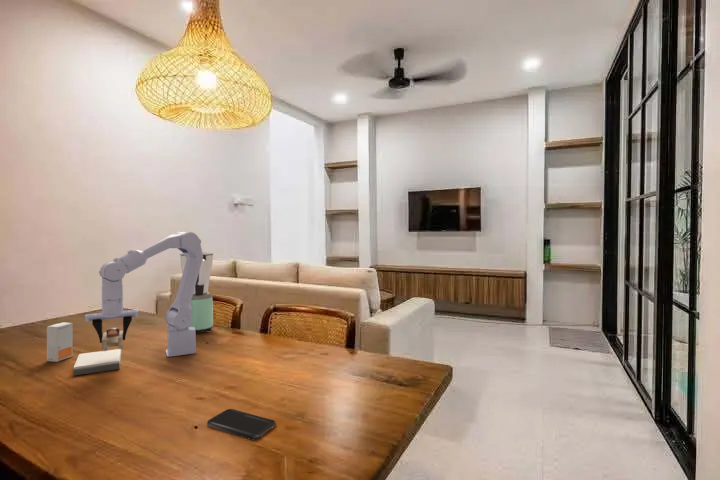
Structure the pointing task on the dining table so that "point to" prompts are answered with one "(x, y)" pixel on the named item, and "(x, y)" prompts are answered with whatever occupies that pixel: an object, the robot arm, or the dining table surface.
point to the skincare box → (59, 341)
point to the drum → (112, 332)
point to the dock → (97, 362)
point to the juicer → (201, 295)
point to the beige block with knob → (112, 341)
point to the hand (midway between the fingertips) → (112, 340)
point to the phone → (241, 423)
